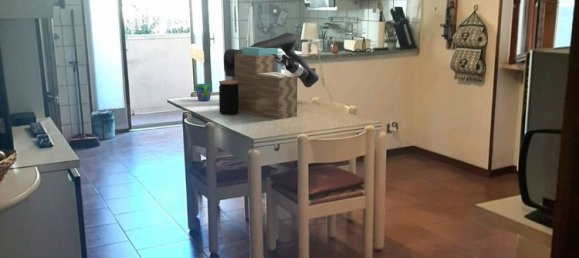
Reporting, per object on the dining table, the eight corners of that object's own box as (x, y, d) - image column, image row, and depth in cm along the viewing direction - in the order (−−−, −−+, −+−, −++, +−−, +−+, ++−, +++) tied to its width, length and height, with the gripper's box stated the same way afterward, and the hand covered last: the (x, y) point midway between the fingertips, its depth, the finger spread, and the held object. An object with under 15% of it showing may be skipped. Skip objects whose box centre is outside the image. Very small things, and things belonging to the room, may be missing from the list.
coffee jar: (241, 112, 318) (241, 80, 314) (233, 115, 308) (233, 83, 304) (224, 111, 321) (224, 79, 318) (216, 114, 311) (215, 82, 308)
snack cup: (194, 98, 365) (194, 83, 363) (211, 98, 367) (210, 82, 365) (196, 102, 350) (195, 86, 348) (213, 102, 353) (213, 85, 350)
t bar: (258, 56, 309) (258, 48, 308) (242, 54, 319) (242, 47, 318) (283, 54, 322) (283, 47, 322) (267, 52, 332) (267, 45, 331)
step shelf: (278, 119, 299) (278, 58, 293) (235, 110, 324) (234, 54, 318) (296, 116, 309) (297, 57, 302) (253, 107, 334) (253, 53, 327)
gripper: (288, 61, 346) (271, 48, 334) (305, 63, 336) (288, 50, 324) (283, 72, 344) (266, 60, 333) (300, 74, 334) (283, 61, 323)
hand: (277, 55), depth 329 cm, fingers open, 8 cm apart
